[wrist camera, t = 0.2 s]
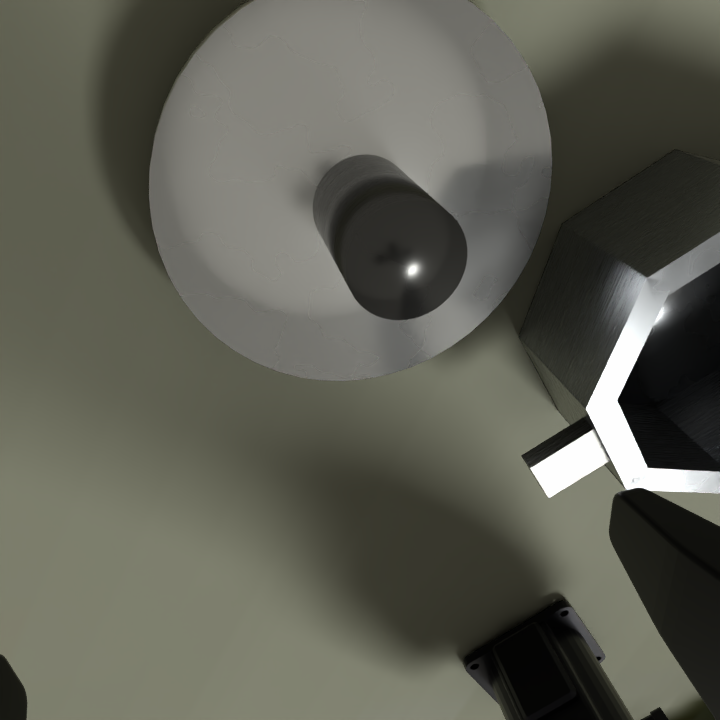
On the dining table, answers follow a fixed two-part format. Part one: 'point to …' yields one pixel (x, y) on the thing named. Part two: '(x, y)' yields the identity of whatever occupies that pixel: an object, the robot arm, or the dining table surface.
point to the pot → (634, 334)
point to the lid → (349, 181)
